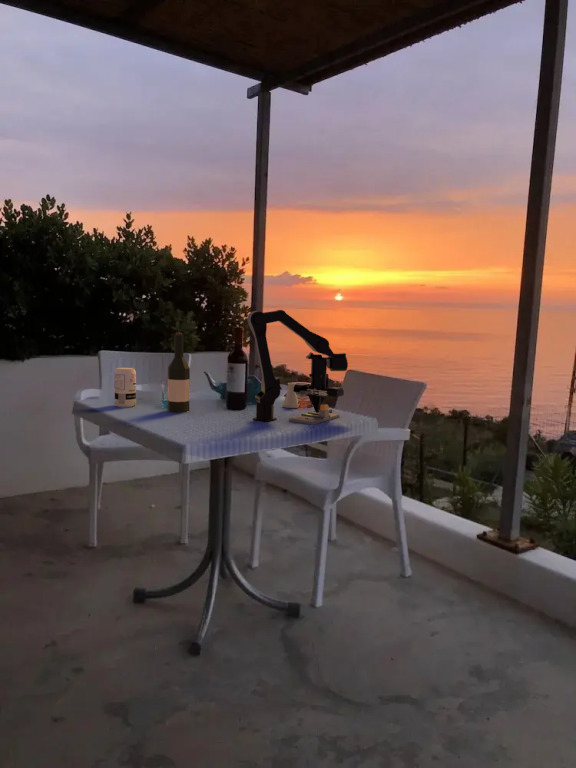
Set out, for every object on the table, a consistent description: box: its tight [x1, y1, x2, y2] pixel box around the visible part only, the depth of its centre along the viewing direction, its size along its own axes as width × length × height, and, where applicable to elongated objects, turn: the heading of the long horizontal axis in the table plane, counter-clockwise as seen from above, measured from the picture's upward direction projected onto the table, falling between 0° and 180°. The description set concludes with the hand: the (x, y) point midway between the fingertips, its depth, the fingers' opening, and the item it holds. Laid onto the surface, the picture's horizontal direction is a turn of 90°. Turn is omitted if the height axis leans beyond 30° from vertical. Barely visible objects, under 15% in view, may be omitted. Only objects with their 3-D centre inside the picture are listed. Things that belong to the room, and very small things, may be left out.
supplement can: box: [113, 366, 137, 408], centre depth 235 cm, size 8×8×15 cm
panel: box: [288, 411, 340, 425], centre depth 221 cm, size 20×10×2 cm, turn 147°
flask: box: [281, 382, 300, 409], centre depth 245 cm, size 7×7×10 cm
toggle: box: [319, 403, 329, 418], centre depth 219 cm, size 3×3×4 cm
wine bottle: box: [167, 332, 191, 414], centre depth 227 cm, size 8×8×30 cm
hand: (317, 412), depth 221 cm, fingers closed
